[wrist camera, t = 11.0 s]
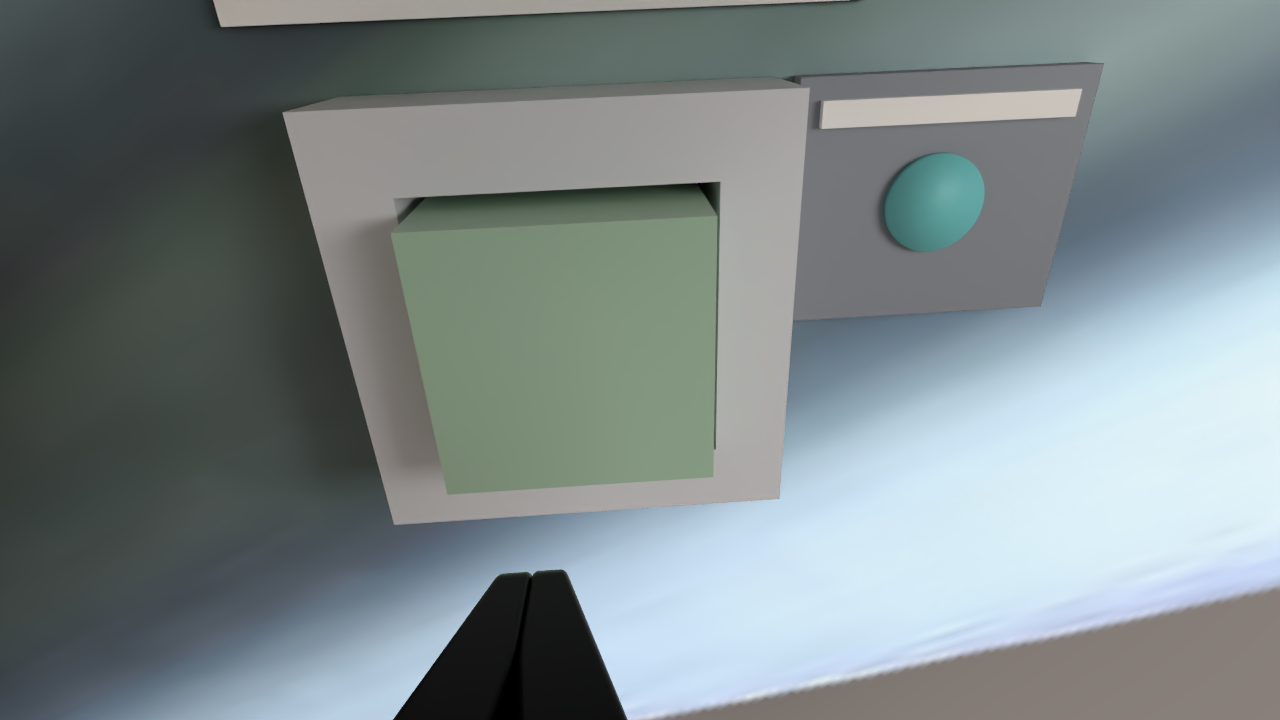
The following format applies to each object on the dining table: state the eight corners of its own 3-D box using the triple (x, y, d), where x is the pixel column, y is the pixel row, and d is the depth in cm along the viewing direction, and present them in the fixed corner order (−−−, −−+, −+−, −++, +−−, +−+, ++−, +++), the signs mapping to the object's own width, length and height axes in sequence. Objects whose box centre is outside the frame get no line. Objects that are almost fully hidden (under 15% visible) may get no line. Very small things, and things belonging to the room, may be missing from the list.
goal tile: (1086, 62, 16) (1110, 63, 15) (1027, 298, 18) (1045, 308, 18) (794, 75, 15) (803, 78, 15) (779, 312, 18) (786, 324, 17)
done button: (690, 172, 16) (717, 215, 12) (691, 389, 18) (713, 477, 15) (437, 185, 15) (390, 233, 12) (477, 403, 18) (447, 494, 15)
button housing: (772, 76, 15) (809, 87, 13) (755, 435, 20) (779, 499, 17) (338, 96, 15) (282, 112, 12) (422, 456, 20) (394, 525, 17)
